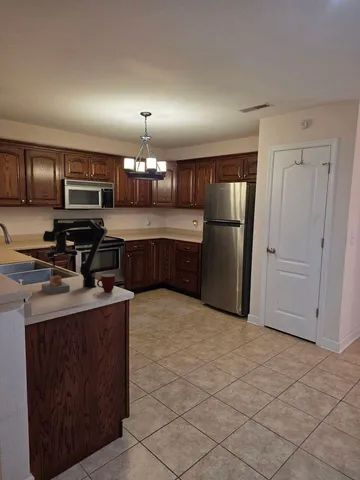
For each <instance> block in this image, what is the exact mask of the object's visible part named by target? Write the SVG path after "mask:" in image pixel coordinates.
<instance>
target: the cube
mask: <svg viewBox="0 0 360 480" xmlns="http://www.w3.org/2000/svg"><path fill="white" fill-rule="evenodd" d="M61 281H62V276H61V275H59V274H57V275H50V276H49V283H50V285H52V286H58V285H61Z"/></svg>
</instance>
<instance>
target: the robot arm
mask: <svg viewBox="0 0 360 480" xmlns="http://www.w3.org/2000/svg"><path fill="white" fill-rule="evenodd" d="M86 227H89V228H90V229H91V230H92V232H94V240H93V242H92V245H91V248H90V250H89V253H88V256H87V258H86V260H84V261H83V262H81V266H80V267H79V269H80V270H79V272H80V274H81V275H82V278H83V280H82V287H84V288H85V289H91V288H97V285H96V274H97V272H96V271H95V270H94V269H93V268H94V261H95V258H96V256H97V253H98V252H99V251H98V250H99V248H100V245H101V243H102V241H103V240H104V239H105V237H106V236H107V233H108V229H107V227H105V226H102V225H100V223H98V222H95V220H93V219H88V220H82V221H74V222H73V221H72V222H70V221H69V222H67V221H58V222H56V223H55V225H54V228H53V229H52V230H45V231H44V233H43V236H42V240H43V242H45V243H46V242H47V243H54V242H56V243H55V245H53V244H52V245H49V247H50V248H49V250H50V251H45V252H44V257H46V258H47V259H49V261H50V262H51V265H52V267H53V269H55V268H56V258H55V256H63V255H64V256H65V255H66V256H68V257H67V258H68V259H67V266H68V267H70V265H71V264H72V261H73V259H74V257H76V256H78V251H77V250H76V249H68V250H67V246H68V244H67V236H70V233H69V232H68V230H72V229H78V228H86Z"/></svg>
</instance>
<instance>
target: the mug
mask: <svg viewBox="0 0 360 480" xmlns="http://www.w3.org/2000/svg"><path fill="white" fill-rule="evenodd" d="M100 282H101V285H100V284H99V283H100ZM115 283H116V274H114V273H104V274H103V273H102V274H101V276H100V278H99V279H98V280H97V282H96V286H97V287H98V288H102V290H103V291H104V293H111V292H113V290H114V287H115Z"/></svg>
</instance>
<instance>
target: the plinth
mask: <svg viewBox="0 0 360 480" xmlns="http://www.w3.org/2000/svg"><path fill="white" fill-rule="evenodd" d="M70 286H71V285H69V284H67V282H64V281H62V280H61V285H58V286H52V285H50V282H47V283H41V291H43V292H44V293H46V294H47V295H54V294H61V293H67V292H70V290H71V289H70Z"/></svg>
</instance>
